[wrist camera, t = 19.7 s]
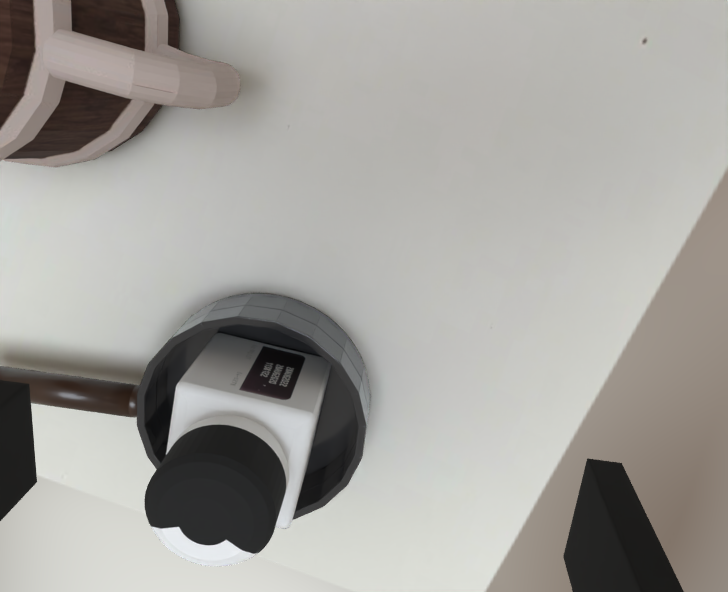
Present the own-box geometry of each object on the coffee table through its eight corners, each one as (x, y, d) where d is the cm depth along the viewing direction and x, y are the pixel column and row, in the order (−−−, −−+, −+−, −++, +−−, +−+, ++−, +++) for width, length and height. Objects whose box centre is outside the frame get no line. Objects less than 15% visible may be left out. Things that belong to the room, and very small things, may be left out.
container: (215, 329, 43) (135, 434, 31) (332, 357, 43) (299, 473, 31) (198, 432, 46) (118, 566, 33) (309, 458, 46) (269, 603, 33)
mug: (-77, 120, 41) (-340, 149, 26) (-63, -162, 36) (-378, -312, 21) (241, 211, 41) (148, 288, 27) (298, -55, 36) (222, -133, 22)
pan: (382, 308, 42) (378, 335, 38) (357, 494, 47) (351, 537, 43) (164, 279, 43) (136, 302, 39) (161, 466, 47) (136, 506, 43)
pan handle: (156, 381, 42) (144, 396, 41) (156, 409, 43) (144, 425, 41) (-28, 356, 43) (-49, 369, 41) (-25, 384, 43) (-46, 398, 42)
